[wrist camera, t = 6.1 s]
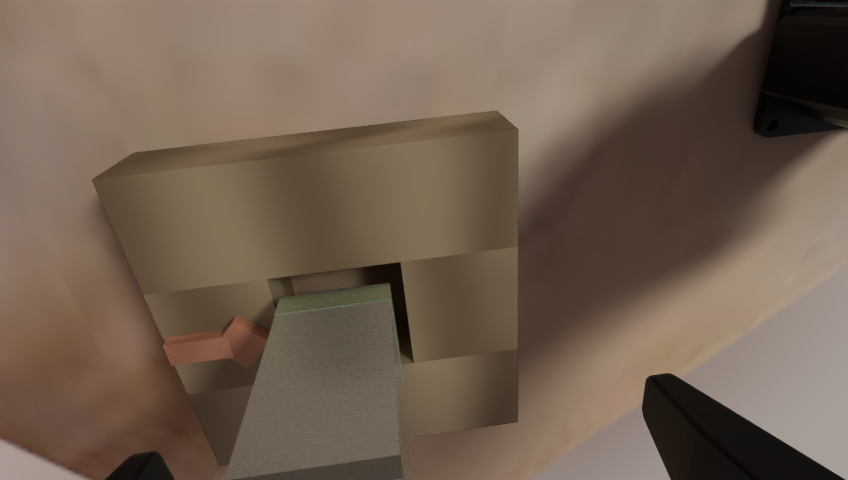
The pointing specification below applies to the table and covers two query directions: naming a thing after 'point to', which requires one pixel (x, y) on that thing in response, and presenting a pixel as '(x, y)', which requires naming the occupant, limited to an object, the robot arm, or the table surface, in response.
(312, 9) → the table surface
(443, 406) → the stand block
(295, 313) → the column
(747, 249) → the table surface
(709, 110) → the table surface
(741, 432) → the robot arm
